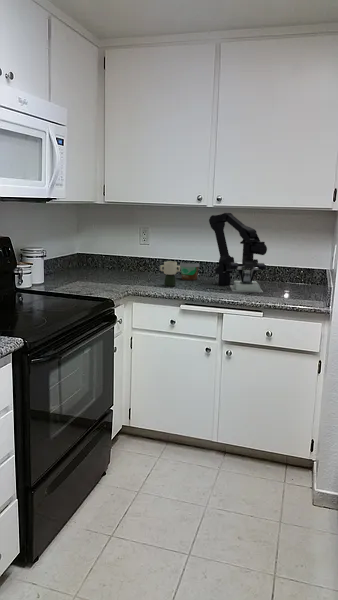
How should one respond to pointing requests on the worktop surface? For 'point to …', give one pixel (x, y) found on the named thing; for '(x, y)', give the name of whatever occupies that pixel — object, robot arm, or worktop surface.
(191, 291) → the worktop surface
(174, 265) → the character mug
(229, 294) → the worktop surface
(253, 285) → the dock
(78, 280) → the worktop surface
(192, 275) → the food container
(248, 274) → the spigot
